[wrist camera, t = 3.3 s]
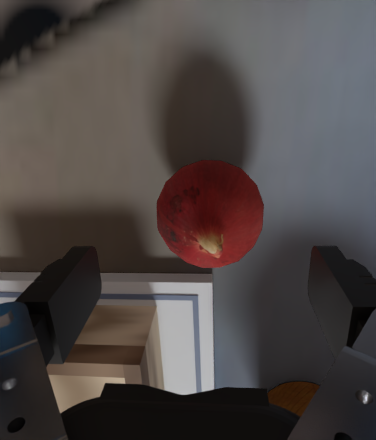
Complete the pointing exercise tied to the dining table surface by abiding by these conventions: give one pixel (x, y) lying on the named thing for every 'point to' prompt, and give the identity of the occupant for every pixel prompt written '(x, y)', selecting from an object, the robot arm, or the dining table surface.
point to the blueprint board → (167, 318)
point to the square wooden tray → (110, 354)
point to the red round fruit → (210, 213)
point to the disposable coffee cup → (293, 396)
